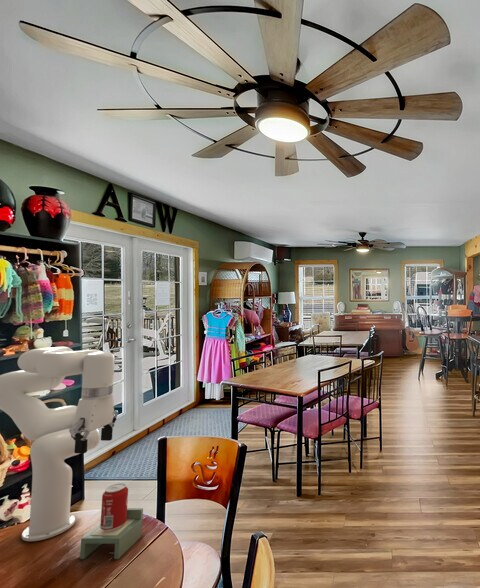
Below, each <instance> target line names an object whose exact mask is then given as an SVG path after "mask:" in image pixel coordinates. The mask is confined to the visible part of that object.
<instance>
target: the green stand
mask: <svg viewBox="0 0 480 588" xmlns="http://www.w3.org/2000/svg"><path fill="white" fill-rule="evenodd" d="M143 516H144V508H143V507H140V508H139V507H137V508H136V507H135V508H134V507H132V508H131V507H129V508H128V507H127V520H126V522H125V523H124V524H123V525H122V526H121V527H120V528H119V529H117V530H114V531H109V532H106V531H104V530H102V529H101V528H100V525H101V522H99V524H98V525H96V526H94V528H92V529H91V530H89V532H87V533H86V534H85V535H84V536H82V537H81V539H80V550H79V551H80V552H79V555H80V556H79V559H80V560H85V559H86V558H87V557H88V556H89V555H91V554H93V552H94V551H95V550H96V549H98V548H99V547H100V546H101V545H103V544H105V545H106V544H107V545H108V544H112V545H113V544H114V553H113V554H114V556H113V559H114V560H119V559H120V558H121V557H122V556H123V555H124V554H125V553H126V552H127V551H128V550H130V548H131V547H132V546H133V545H135V543H137V542H138V541H139V540H140V539H141V538H142V536H143Z"/></svg>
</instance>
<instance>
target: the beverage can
mask: <svg viewBox="0 0 480 588" xmlns="http://www.w3.org/2000/svg"><path fill="white" fill-rule="evenodd" d="M128 501H129V487H128V486H127V484H126V483H123V482H121V483H115V484H111V485H109V486H108V487H106V488H105V490H104V492H103V493H102V496H101V510H100V511H101V512H100V523H101V525H100V528H101V529H102V530H104V531H106V532H109V531H114V530H117V529H119V528H120V527H121V526H122V525H123V524H124V523H125V522H126V520H127V508H128Z"/></svg>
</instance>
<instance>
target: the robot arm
mask: <svg viewBox="0 0 480 588" xmlns="http://www.w3.org/2000/svg"><path fill="white" fill-rule="evenodd" d="M115 357H116V356H115V354H114V353H112V352H110V351H102V350H101V349H85V350H73V349H72V348H71V347H68V346H55V347H53V346H52V347H42V348H34V349H29V350H27V351H25V352H23V353H22V354H21V355H20V356H19V357H18V359H17V366H18V368H19V369H20V370H15V371H10V372H6V373H3V374H0V410H1V411H3V412H4V413H5V414H6V415H8V416H9V418H11V419H12V421H13V423H14V424H15V426H16V427H17V428H18V429H19V431H20V432H21V434H22V435H23V437H25V439H27V440H28V441H31V442H32V441H33V442H32V443H31V445H30V448H29V455H30V456H29V457H30V461H31V469H32V475H31V476H32V478H31V495H30V497H31V498H30V511H29V512H30V513H29V524H28V525H29V526H27V527H26V528H25V529H24V530H23V531H22V532H21V539H22V541H25V542H38V541H39V542H40V541H44V540H48V539H51V538H53V537H55V536H59V535H60V534H63V533H64V532H66V531H68V530H69V529H71V528H72V527H73V526H74V524H75V523H76V516H75V515H74V514H71V504H72V503H71V501H72V500H71V499H72V487H73V469H72V467H71V465H69V464H67V463H66V462H65V460H66V459H69V458H71V457H75V456H78V455H80V454H86V453H87V452H89V451H91V450H93V449H95V448H96V447H97V446H98V445H99V443H100V441H103V442H104V441H112V440H113V431H114V427H115V423H116V421H117V417H118V415H119V410H115V400H114V391H113V390H114V374H115V361H116V359H115ZM75 375H76V376H78V375H82V382H81V396H80V398H79V400H78V403H77V405H71V404H70V405H65V406H59V407H55V408H54V407H53V408H49V407H48V406H47V404H46V403H45V402H44V401H43V400H41V399H40V398H38V397H35V396H32V395H29V394H32V393H38V392H43V391H50V390H52V389H55V388H57V387H58V386H60V384H62V383H63V381H64V379H65V378H66V377H70V376H71V377H72V376H75ZM100 428H101V431H99V429H100Z"/></svg>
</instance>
